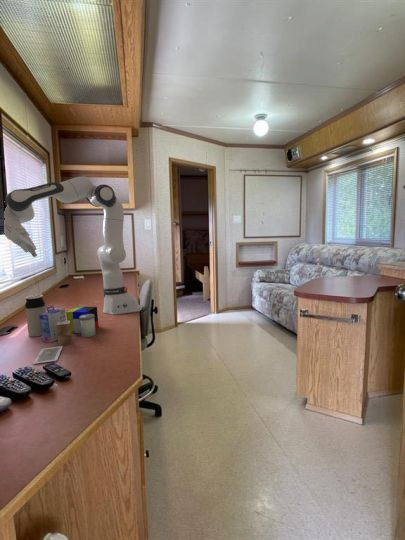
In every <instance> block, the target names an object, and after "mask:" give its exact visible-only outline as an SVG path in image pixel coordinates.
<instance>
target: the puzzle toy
mask: <svg viewBox="0 0 405 540" xmlns="http://www.w3.org/2000/svg"><path fill="white" fill-rule="evenodd" d="M85 314H94V315H95V318H94V321H95V329H97V328H98V327H99V317H98V316H99V315H98V306H77V307H75V308H72V309H70V310H67V311H65V315H66V321H69V320H70V323H71V333H72V334H75V333H76V334H81V324H80V319H79V317H80V316H81V315H85Z"/></svg>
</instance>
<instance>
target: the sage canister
mask: <svg viewBox="0 0 405 540" xmlns="http://www.w3.org/2000/svg"><path fill="white" fill-rule="evenodd" d="M94 318H95V315H94V314H85V315H81V316H80V317H79V319H80V324H81V333H80V334H81V337H82V338H91V337H94V336H96V328H95V321H94Z"/></svg>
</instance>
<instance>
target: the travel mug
mask: <svg viewBox="0 0 405 540" xmlns="http://www.w3.org/2000/svg"><path fill="white" fill-rule="evenodd" d="M43 298H44V295H43V294H33V295H28V296H25V297H24V299H25V300H26V302H25V305H24V307H25V315H26V325H27V332H28V334H27V335H28V336H30V337H40V336H42V330H41V323H40V316H39V315H41V314H44V313H46V311H47V309H46V303H45V302H46V301H44V299H43Z"/></svg>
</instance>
